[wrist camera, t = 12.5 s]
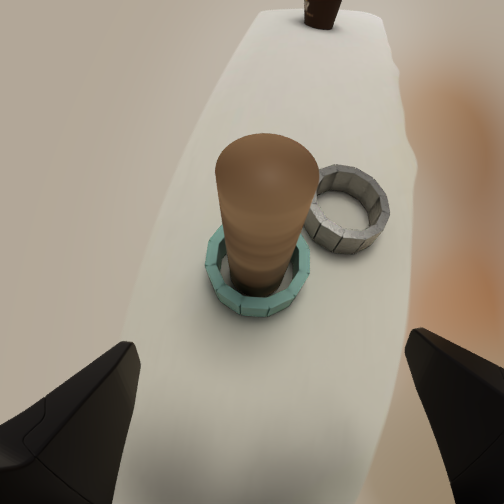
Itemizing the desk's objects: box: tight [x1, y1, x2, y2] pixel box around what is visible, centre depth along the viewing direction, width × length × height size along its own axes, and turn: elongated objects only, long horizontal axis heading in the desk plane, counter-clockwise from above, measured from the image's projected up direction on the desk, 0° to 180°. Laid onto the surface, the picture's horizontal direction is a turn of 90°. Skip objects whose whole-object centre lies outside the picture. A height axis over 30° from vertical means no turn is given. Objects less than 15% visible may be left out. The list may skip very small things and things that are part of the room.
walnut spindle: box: [215, 133, 319, 297], centre depth 18 cm, size 4×4×13 cm
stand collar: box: [304, 164, 390, 254], centre depth 25 cm, size 8×8×3 cm
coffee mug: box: [304, 0, 342, 30], centre depth 43 cm, size 12×9×10 cm
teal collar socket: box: [205, 224, 310, 317], centre depth 22 cm, size 8×8×3 cm
